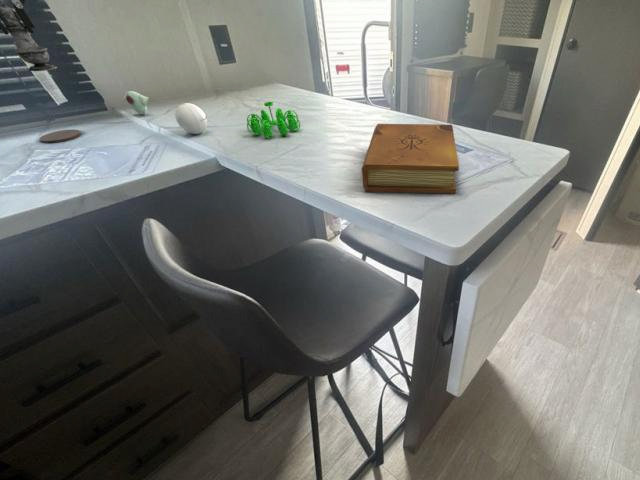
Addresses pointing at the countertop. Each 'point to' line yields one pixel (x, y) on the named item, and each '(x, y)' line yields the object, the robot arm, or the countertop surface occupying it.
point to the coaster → (60, 136)
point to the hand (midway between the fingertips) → (18, 32)
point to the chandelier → (272, 122)
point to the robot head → (136, 101)
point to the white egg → (191, 118)
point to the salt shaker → (25, 41)
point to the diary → (411, 159)
